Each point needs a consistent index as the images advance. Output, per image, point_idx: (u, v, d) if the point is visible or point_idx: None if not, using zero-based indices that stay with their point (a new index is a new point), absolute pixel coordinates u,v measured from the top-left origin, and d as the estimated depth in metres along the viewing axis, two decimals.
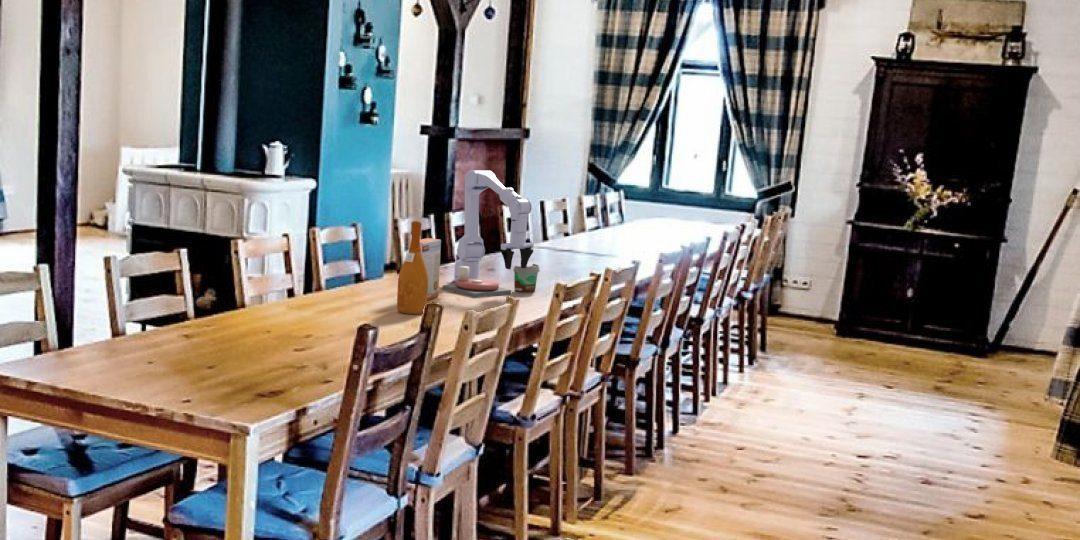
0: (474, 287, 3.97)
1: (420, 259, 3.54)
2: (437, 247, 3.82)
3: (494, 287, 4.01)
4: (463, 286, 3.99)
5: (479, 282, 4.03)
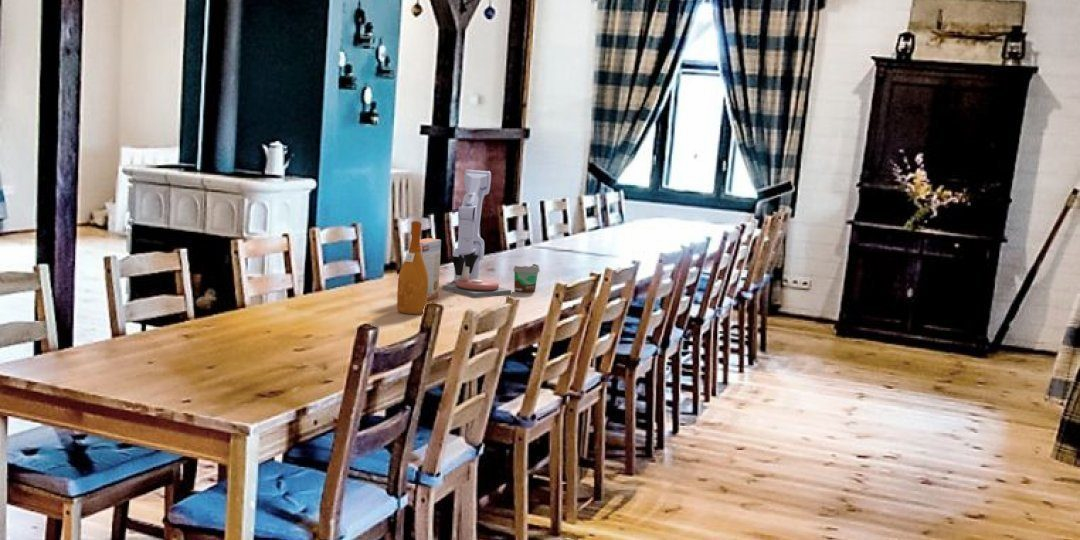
0: (474, 287, 3.97)
1: (420, 259, 3.54)
2: (437, 247, 3.82)
3: (494, 287, 4.01)
4: (463, 286, 3.99)
5: (479, 282, 4.03)
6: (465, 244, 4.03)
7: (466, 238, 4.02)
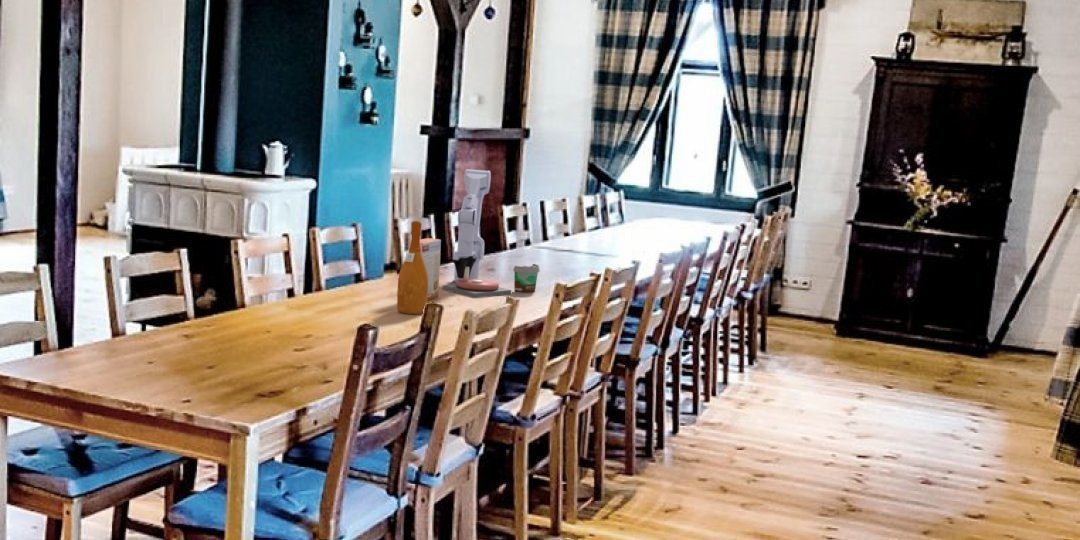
0: (474, 287, 3.97)
1: (420, 259, 3.54)
2: (437, 247, 3.82)
3: (494, 287, 4.01)
4: (463, 286, 3.99)
5: (479, 282, 4.03)
6: (465, 247, 4.03)
7: (466, 241, 4.03)
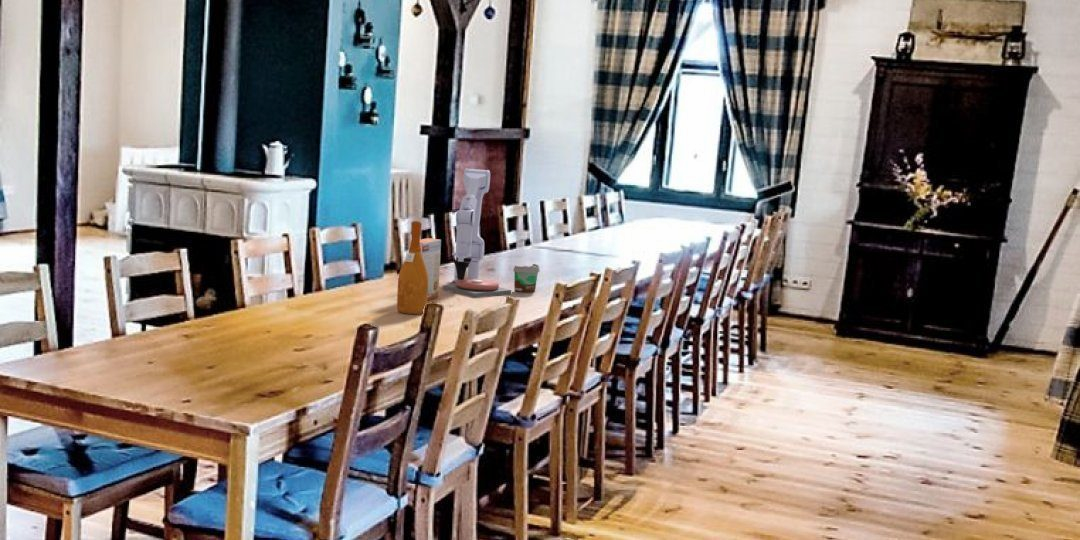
0: (479, 287, 3.97)
1: (420, 259, 3.54)
2: (437, 247, 3.82)
3: (496, 286, 4.02)
4: (467, 287, 3.98)
5: (480, 282, 4.04)
6: (466, 248, 4.01)
7: (467, 242, 4.01)
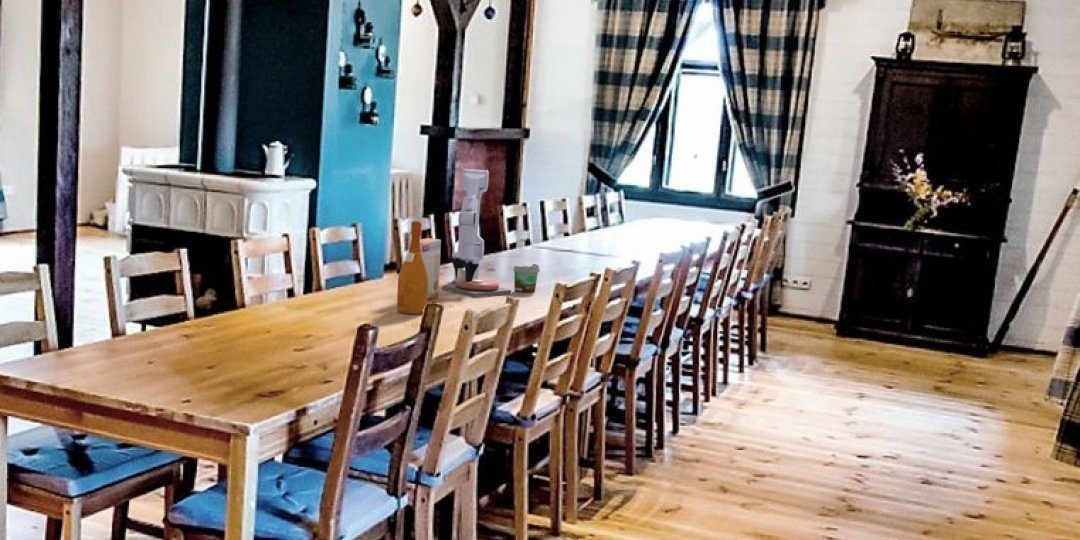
0: (492, 287, 4.00)
1: (420, 259, 3.54)
2: (437, 247, 3.82)
3: None
4: (481, 288, 3.98)
5: (482, 282, 4.05)
6: (472, 250, 3.99)
7: (473, 243, 3.98)
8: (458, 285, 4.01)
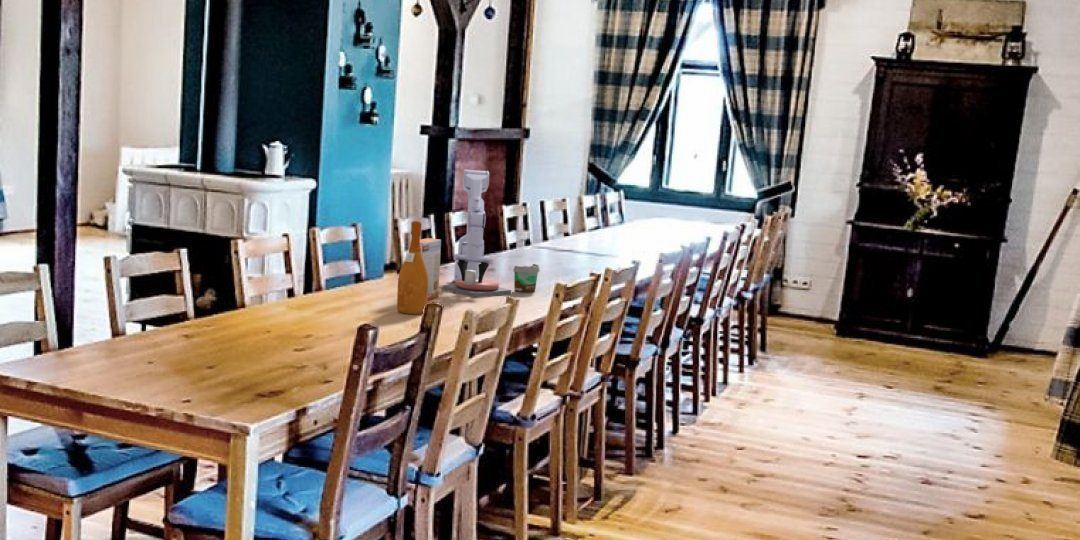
0: (498, 285, 4.05)
1: (420, 259, 3.54)
2: (437, 247, 3.82)
3: None
4: (494, 287, 4.01)
5: (482, 281, 4.06)
6: None
7: None
8: (470, 287, 3.98)
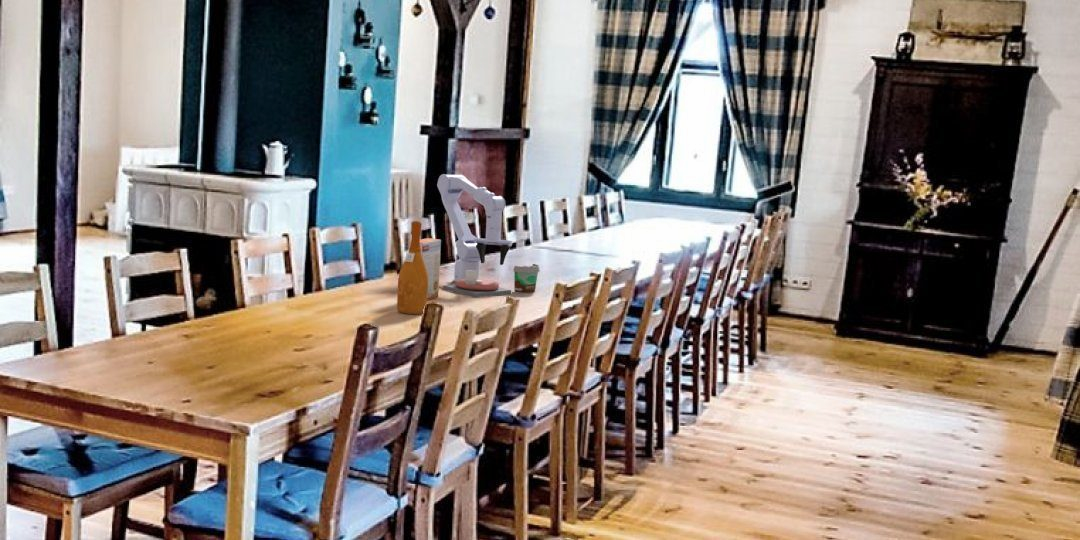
0: (498, 285, 4.05)
1: (420, 259, 3.54)
2: (437, 247, 3.82)
3: None
4: (495, 287, 4.01)
5: (482, 281, 4.06)
6: None
7: None
8: (471, 288, 3.98)
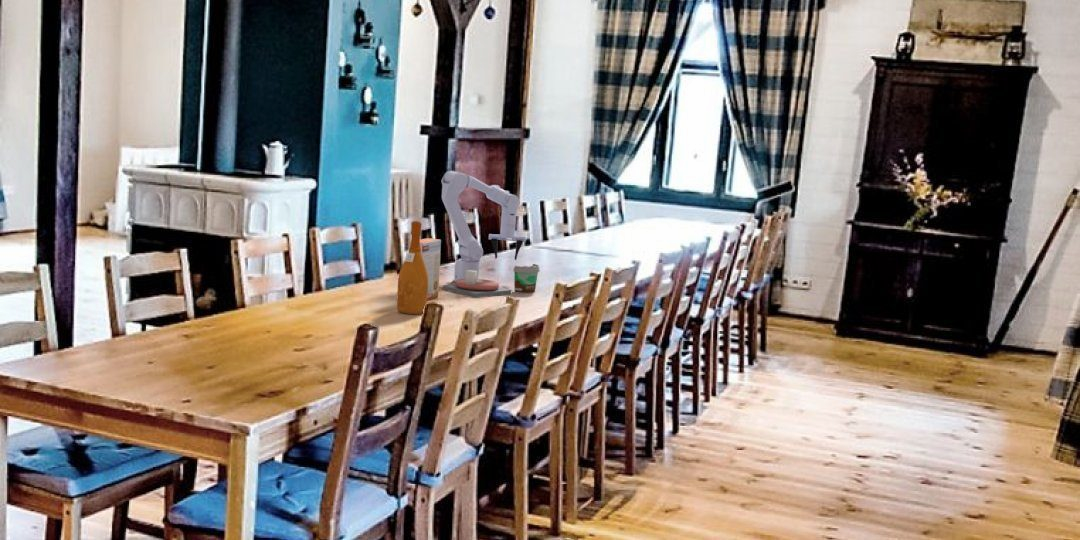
0: (498, 285, 4.05)
1: (420, 259, 3.54)
2: (437, 247, 3.82)
3: None
4: (495, 287, 4.01)
5: (482, 281, 4.06)
6: None
7: None
8: (471, 288, 3.98)
